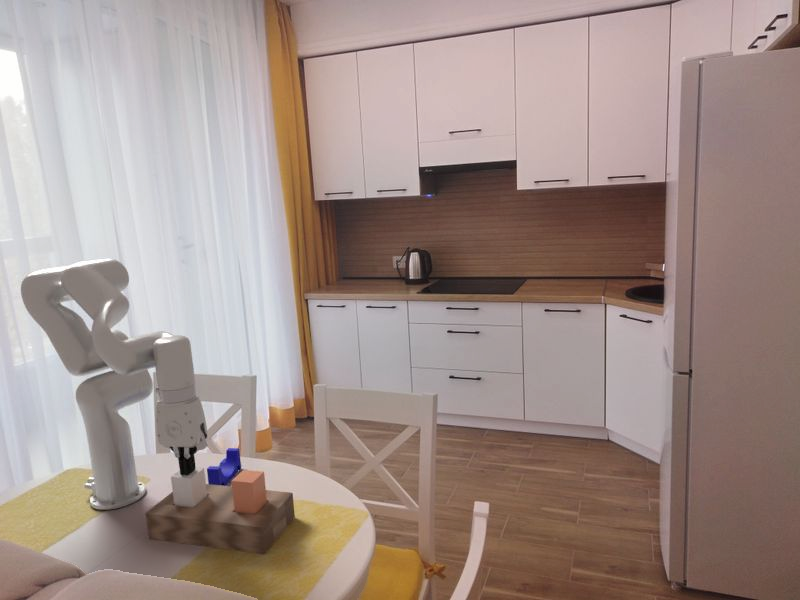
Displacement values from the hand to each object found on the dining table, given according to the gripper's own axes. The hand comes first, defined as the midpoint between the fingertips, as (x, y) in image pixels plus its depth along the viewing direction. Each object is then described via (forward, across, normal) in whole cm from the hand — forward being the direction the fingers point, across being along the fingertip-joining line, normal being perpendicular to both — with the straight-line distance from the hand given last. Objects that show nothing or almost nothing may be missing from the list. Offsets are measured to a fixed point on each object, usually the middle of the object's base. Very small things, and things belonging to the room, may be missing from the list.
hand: (188, 472), depth 130 cm
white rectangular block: (+8, 0, 0) cm, 8 cm away
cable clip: (+13, -6, +20) cm, 25 cm away
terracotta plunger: (+7, +15, 0) cm, 16 cm away
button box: (+13, +7, 0) cm, 15 cm away
